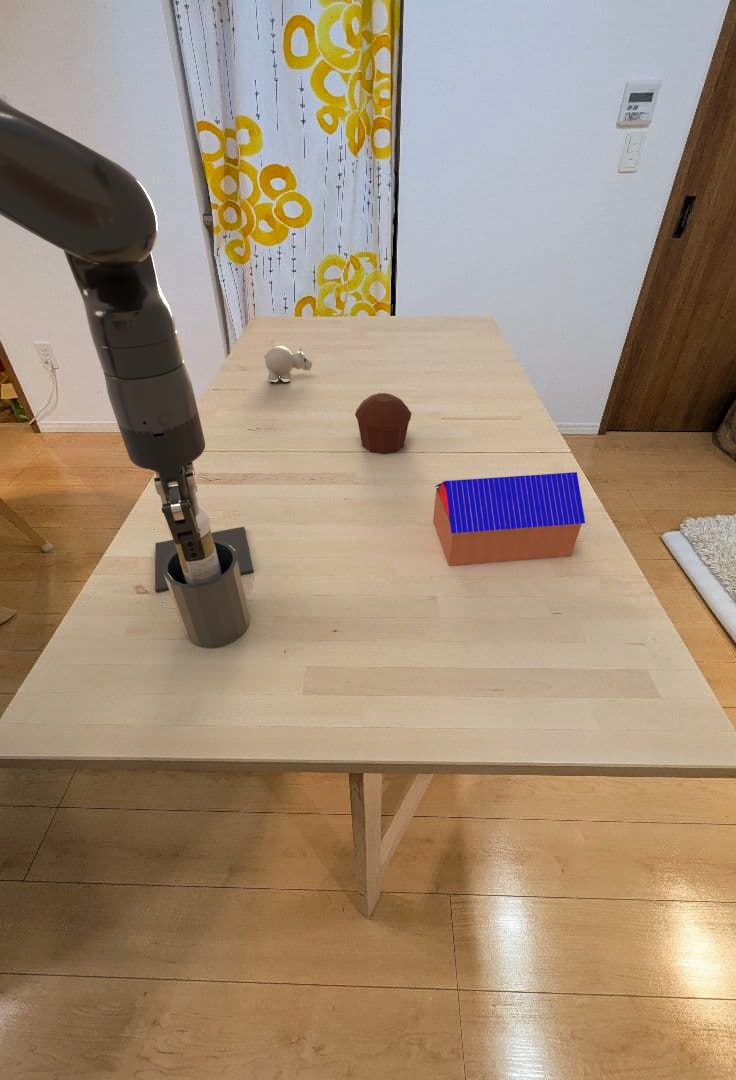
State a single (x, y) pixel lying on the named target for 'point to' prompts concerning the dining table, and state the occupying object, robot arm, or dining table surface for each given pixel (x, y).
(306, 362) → the chubby cartoon animal
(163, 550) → the mat
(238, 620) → the cup
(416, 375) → the dining table surface
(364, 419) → the muffin
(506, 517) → the house
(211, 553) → the sprinkles bottle
